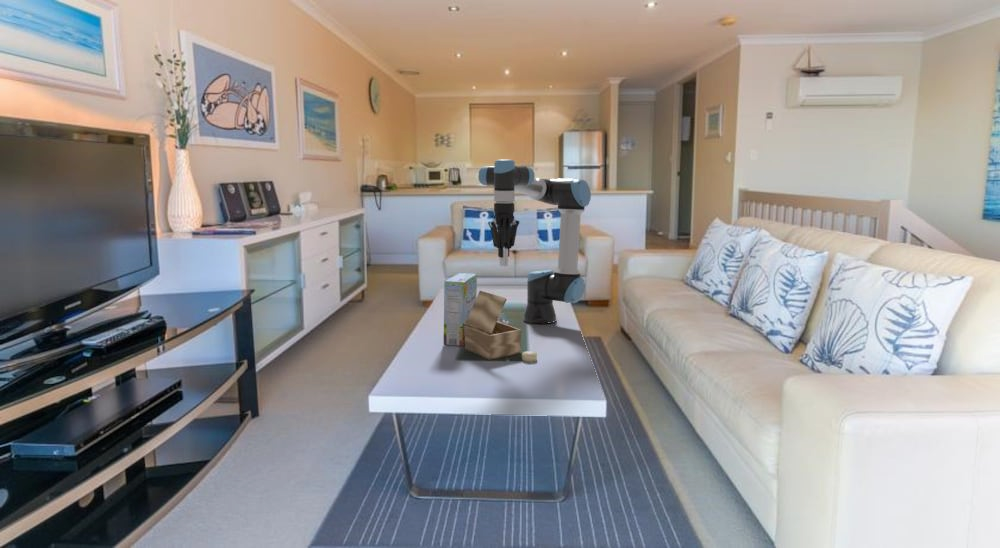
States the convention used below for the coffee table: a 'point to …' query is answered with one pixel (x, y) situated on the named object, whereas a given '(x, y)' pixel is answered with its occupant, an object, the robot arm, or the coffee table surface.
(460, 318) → the snack box
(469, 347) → the tan open box
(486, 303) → the lid
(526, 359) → the cream domed disc
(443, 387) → the coffee table surface
